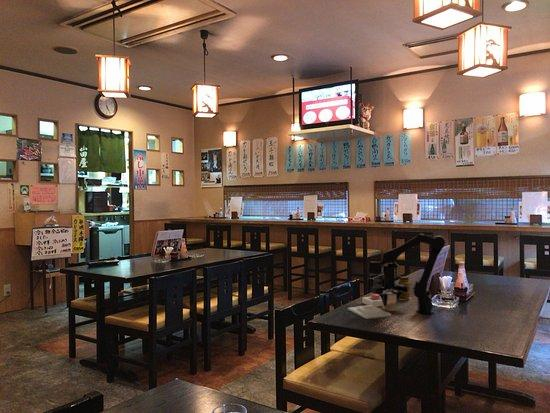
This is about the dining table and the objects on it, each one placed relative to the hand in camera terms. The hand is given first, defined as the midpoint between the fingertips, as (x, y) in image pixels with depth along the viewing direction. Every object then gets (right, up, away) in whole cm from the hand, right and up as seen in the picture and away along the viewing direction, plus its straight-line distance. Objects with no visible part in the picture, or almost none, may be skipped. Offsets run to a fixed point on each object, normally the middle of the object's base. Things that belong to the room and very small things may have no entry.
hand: (389, 305), depth 222 cm
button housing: (-5, -2, +11) cm, 12 cm away
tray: (-12, -2, -6) cm, 13 cm away
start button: (-5, 0, +11) cm, 12 cm away
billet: (0, -2, 0) cm, 2 cm away
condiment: (+14, -2, +25) cm, 28 cm away
